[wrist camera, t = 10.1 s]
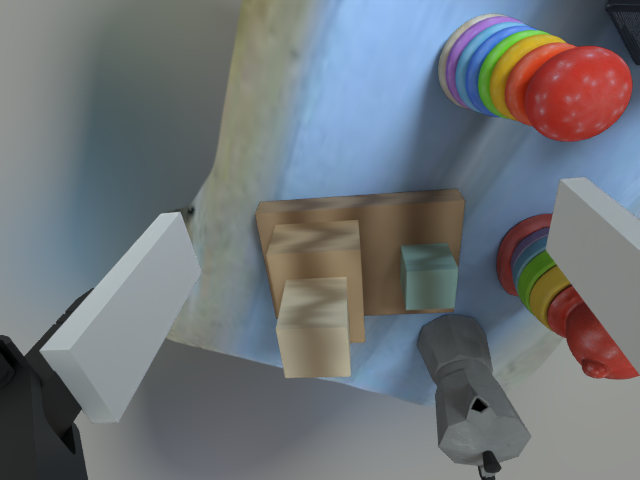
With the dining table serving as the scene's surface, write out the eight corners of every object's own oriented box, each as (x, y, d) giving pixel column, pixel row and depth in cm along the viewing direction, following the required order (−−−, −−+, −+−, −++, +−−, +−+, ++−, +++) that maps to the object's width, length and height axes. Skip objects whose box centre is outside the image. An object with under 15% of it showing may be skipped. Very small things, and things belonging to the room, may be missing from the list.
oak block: (346, 276, 38) (347, 327, 32) (349, 322, 41) (350, 376, 35) (286, 279, 39) (275, 329, 33) (293, 324, 42) (285, 378, 36)
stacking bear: (506, 296, 50) (578, 424, 34) (479, 235, 45) (548, 351, 30) (596, 262, 46) (721, 387, 31) (577, 194, 42) (710, 300, 27)
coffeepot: (408, 308, 52) (436, 437, 36) (482, 295, 50) (544, 424, 34) (424, 384, 59) (454, 518, 43) (489, 375, 57) (543, 511, 42)
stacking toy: (474, 124, 39) (567, 206, 23) (418, 69, 37) (477, 118, 21) (543, 56, 36) (709, 97, 20) (486, -9, 33) (621, -23, 17)
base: (457, 188, 43) (483, 228, 35) (448, 296, 50) (467, 349, 42) (260, 201, 45) (242, 242, 37) (279, 303, 52) (268, 355, 44)
